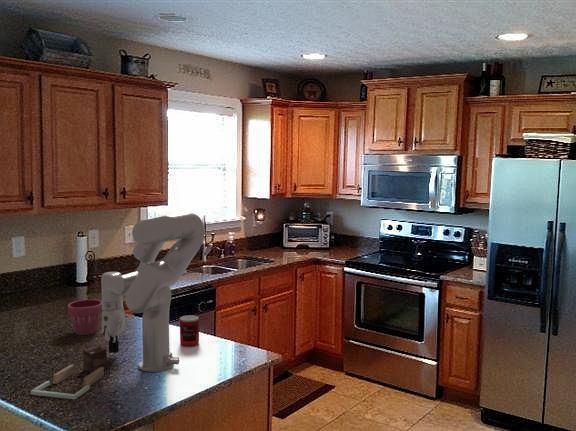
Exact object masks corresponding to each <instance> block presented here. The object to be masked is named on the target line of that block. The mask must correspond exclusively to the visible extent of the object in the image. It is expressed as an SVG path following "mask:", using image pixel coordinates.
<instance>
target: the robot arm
mask: <svg viewBox="0 0 576 431" xmlns="http://www.w3.org/2000/svg"><path fill="white" fill-rule="evenodd" d="M131 235H132V238H133V241H134V242H135V243H136V244H135V246H134V247H133V249H132V254H133V256H134V258H136V260H138V261H139V265H138V266H137V267H136V270H134V271H132V272H128V273H125V274H122V273H121V272H119V271H107V272H103V273H102V274H101V276H100V277H101V278H100V282H101V283H100V284H101V301H102V312H101V335H102V337H103V340H104V341H107V343H108V352H109V353H113V354H114V353H115V354H117V353H118V352H119V351H120V350H119V347H120V346H119V341H120V335H121V334H122V333H124V332H125V331H126V328H127V327H126V316H125V315H126V313H125V309H124V303H123V302H124V301H123V300H124V299H123V298H124V297H125V304H126V307H127V308H128V310H129V311H130V312H132V313H134V314H142V317H141V331H142V332H141V333H142V338H141V339H142V360H141V361H140V362H139V363H138V369H139V370H141V371H143V372H147V373H158V372H163V371H164V372H165V371H167V370H170V369H172V368H173V367H174V365H180V357H178V356H173V352H170V306H171V301H172V290H171V286H173V285H175V284H177V283H178V282H179V281H180V279H181V277H182V275H183V274H184V273H185V271H186V270H187V268H188V267H189V265H190V264H191V261H192V260H193V259H194V258H195V256H196V255H197V253H198V252H199V250H200V249H201V247H202V244H203V243H204V239H205V225H204V223H203V221H202V218H200V216H198V215H197V214H195V213H192V212H181V213H174V214H166V215H162V216H157V217H152V218H147V219H142V220H139V221H137V222H136V223H134V226H133V228H132V231H131ZM174 240H177V241H176V242H174V243H173V245H171V246H170V248H169V250H168V251H167V253H166V254H165V256H164V257H162V259H160V260H158V261H156V259H157V257H158V254H159V253H160V251H161V249H162V248H163V247H164V244H165V243H166V242H168V241H174ZM123 296H124V297H123Z"/></svg>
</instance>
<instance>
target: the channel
mask: <svg viewBox="0 0 576 431" xmlns="http://www.w3.org/2000/svg"><path fill="white" fill-rule="evenodd" d="M75 368H76V366H75V364H69V365H68V366H66V367H64V368H62V369H60V370H59V371H57V372H56V373H54V374H53V375H52V377H53V378H52V379H53V380H52V383H53V384H56V385H57V384H60V383H61V382H63V381H65V380H66V379H67V378H69V377H71V376H73V375H74V374H76V369H75ZM104 376H105V369H104V368H102V367H100V368H98V369H97V370H95V371H94V372H92V373H91V372H89V373H88V375H86V376H85V377H83V388H84V387H85V386H87V385H90V386H92V385H94V383H96V382H98V381H99V380H101V379H102V378H103V377H104Z"/></svg>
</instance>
